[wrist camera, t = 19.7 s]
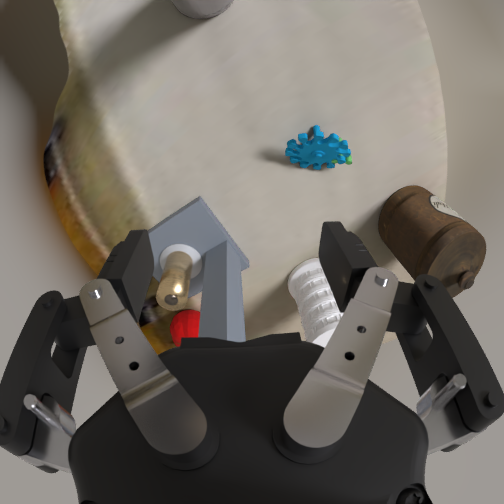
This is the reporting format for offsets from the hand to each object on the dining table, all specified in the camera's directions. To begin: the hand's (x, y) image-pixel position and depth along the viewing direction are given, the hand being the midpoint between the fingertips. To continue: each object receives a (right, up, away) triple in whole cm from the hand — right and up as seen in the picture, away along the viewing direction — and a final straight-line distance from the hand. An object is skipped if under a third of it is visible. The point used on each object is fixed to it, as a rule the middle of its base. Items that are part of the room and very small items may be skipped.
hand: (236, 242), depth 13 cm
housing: (-13, -2, +38) cm, 40 cm away
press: (-9, -4, +42) cm, 43 cm away
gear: (+11, +17, +31) cm, 37 cm away
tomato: (-13, -16, +50) cm, 54 cm away
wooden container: (+33, +7, +39) cm, 52 cm away
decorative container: (+14, -6, +46) cm, 49 cm away
